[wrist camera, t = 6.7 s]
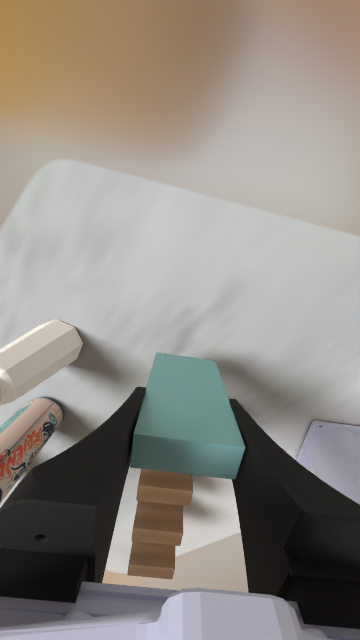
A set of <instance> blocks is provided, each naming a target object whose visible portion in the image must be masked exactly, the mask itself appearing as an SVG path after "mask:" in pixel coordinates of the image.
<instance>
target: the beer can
mask: <svg viewBox="0 0 360 640" xmlns="http://www.w3.org/2000/svg"><path fill="white" fill-rule="evenodd" d="M62 419H63V413H62V411H61V408H60V407H59V406H58V405H57V404H56V403H55V402H53V401H52V400H50V399H47V398H34V399H32V400H30V401H28V402H27V403H26V404H25V405H24V406H23V407H22V408H21V409H20V410H19V411H18V412H16V413H15V414H14V415H13V416H12V417H11V418H10V419H9V420H8V421H6V422H5V423H4V424H3V425H2V426H1V427H0V503H1V502H2V500H3V499H4V498H5V496H6V495H7V494H8V492H9V491H10V490H11V488H12V487H13V486H14V484H15V483H16V482H17V480H18V479H19V478H20V477H21V475H22V474H23V473H24V471H25V470H26V469H27V467H28V466H29V465H30V463H31V462H32V461H33V459H34V458H35V457H36V455H37V454H38V453H39V451H40V450H41V449H42V447H43V446H44V445H45V443H46V442H47V441H48V439H49V438H50V437H51V435H52V434H53V433H54V431H55V430H56V429H57V427H58V426H59V425H60V423H61V422H62Z"/></svg>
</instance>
